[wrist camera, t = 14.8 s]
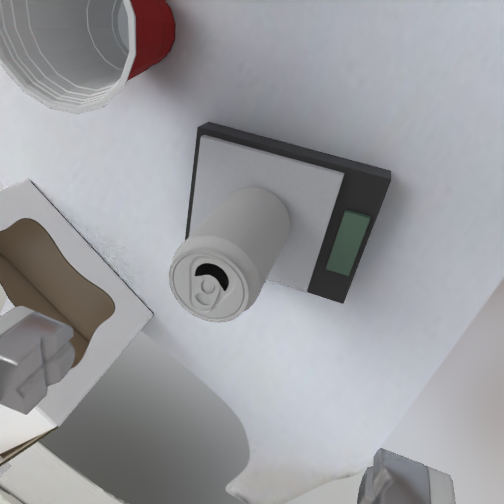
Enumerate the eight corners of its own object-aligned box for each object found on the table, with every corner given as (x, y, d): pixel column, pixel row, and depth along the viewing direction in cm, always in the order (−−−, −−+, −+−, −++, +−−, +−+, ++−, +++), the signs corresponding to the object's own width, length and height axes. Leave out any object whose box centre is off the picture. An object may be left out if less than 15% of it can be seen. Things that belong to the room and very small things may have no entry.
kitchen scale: (391, 170, 34) (391, 182, 31) (345, 290, 41) (342, 308, 38) (208, 121, 37) (193, 128, 34) (193, 241, 43) (180, 255, 41)
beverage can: (303, 204, 34) (268, 273, 24) (275, 260, 38) (234, 342, 27) (237, 172, 35) (176, 227, 24) (215, 231, 38) (153, 300, 28)
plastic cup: (189, 112, 37) (115, 140, 27) (88, 68, 38) (-22, 79, 28) (221, -22, 31) (142, -52, 21) (101, -71, 32) (-31, -122, 22)
